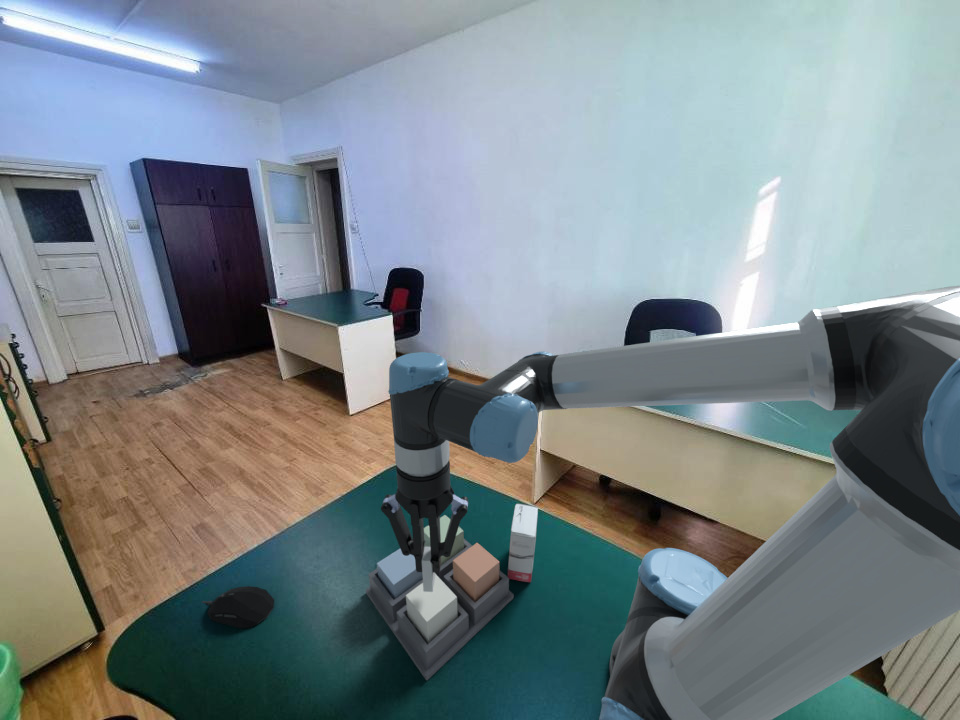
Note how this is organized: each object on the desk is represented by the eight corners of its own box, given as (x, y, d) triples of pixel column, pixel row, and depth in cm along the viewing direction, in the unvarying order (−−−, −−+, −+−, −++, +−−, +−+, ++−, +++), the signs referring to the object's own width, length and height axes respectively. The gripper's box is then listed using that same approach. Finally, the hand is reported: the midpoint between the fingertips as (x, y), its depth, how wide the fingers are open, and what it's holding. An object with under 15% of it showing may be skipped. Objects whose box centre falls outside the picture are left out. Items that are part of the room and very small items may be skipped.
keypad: (513, 598, 70) (514, 578, 69) (426, 681, 58) (425, 659, 56) (447, 537, 84) (447, 519, 83) (365, 593, 71) (363, 573, 70)
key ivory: (457, 618, 63) (456, 596, 61) (428, 644, 59) (426, 621, 57) (436, 594, 67) (435, 573, 65) (407, 616, 63) (405, 595, 61)
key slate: (423, 584, 70) (422, 564, 68) (395, 605, 66) (393, 584, 65) (406, 564, 74) (404, 545, 73) (379, 583, 70) (376, 563, 69)
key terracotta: (499, 582, 69) (499, 561, 67) (475, 603, 65) (475, 582, 64) (477, 562, 73) (477, 542, 72) (453, 580, 69) (452, 560, 68)
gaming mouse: (214, 587, 73) (209, 572, 72) (282, 599, 71) (278, 584, 69) (185, 619, 67) (179, 603, 66) (258, 633, 65) (254, 617, 63)
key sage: (463, 549, 76) (463, 530, 74) (440, 567, 72) (439, 547, 71) (445, 533, 80) (445, 514, 79) (422, 548, 76) (421, 529, 75)
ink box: (532, 584, 73) (535, 537, 69) (507, 579, 74) (508, 532, 70) (535, 549, 81) (538, 505, 77) (512, 545, 82) (514, 501, 78)
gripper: (470, 447, 56) (470, 565, 64) (384, 445, 56) (395, 562, 64) (467, 479, 49) (468, 607, 57) (368, 476, 49) (383, 604, 57)
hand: (429, 583), depth 60 cm, fingers closed
